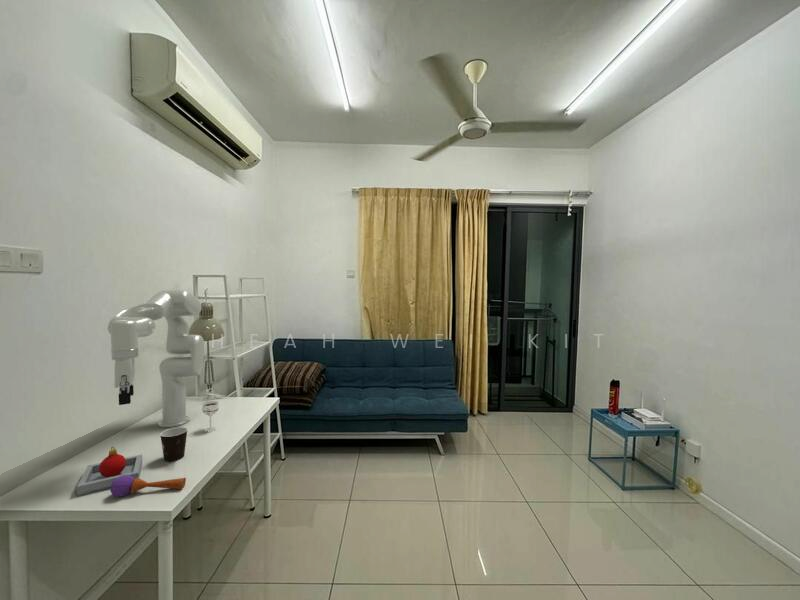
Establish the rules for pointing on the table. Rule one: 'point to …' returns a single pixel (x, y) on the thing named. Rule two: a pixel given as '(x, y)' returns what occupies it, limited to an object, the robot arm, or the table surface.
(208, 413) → the wineglass
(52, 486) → the table surface
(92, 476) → the tray
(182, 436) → the coffee mug
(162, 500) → the table surface
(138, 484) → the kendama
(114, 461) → the christmas ornament
